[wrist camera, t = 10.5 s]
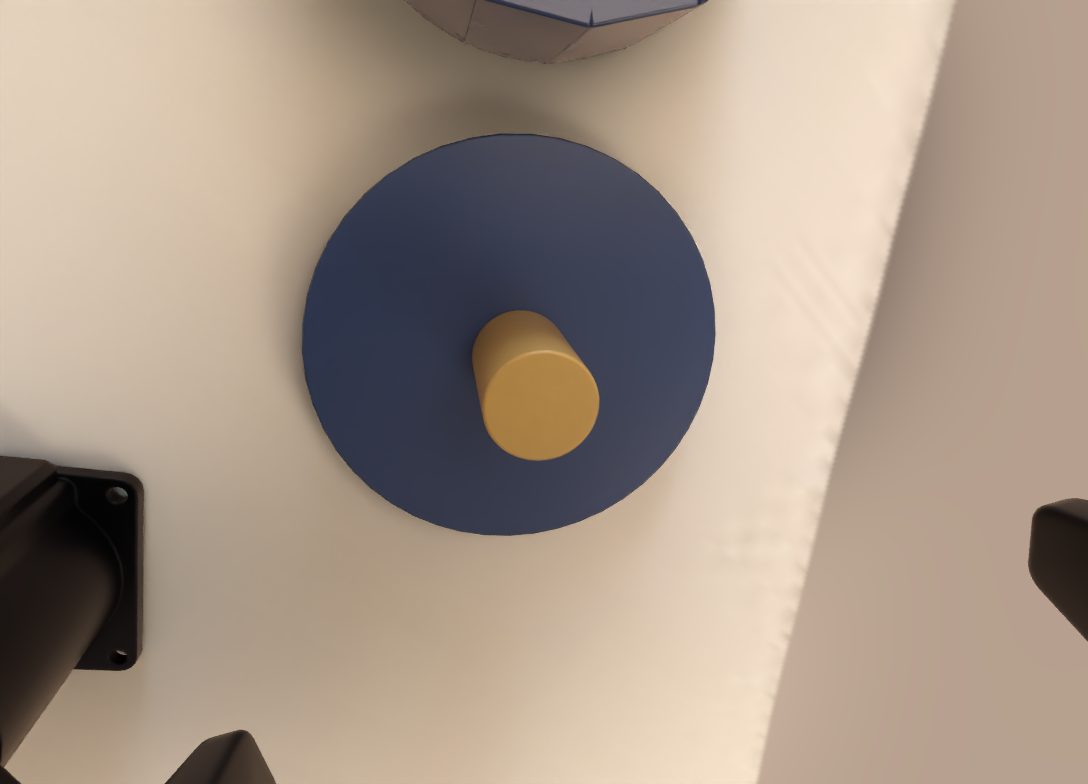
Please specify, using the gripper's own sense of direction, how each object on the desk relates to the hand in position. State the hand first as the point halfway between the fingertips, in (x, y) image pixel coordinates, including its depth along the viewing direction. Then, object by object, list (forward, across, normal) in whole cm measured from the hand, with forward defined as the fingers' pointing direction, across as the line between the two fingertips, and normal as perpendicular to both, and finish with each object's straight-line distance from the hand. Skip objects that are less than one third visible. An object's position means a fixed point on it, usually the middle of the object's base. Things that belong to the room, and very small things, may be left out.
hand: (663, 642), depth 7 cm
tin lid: (+12, 0, 0) cm, 12 cm away
